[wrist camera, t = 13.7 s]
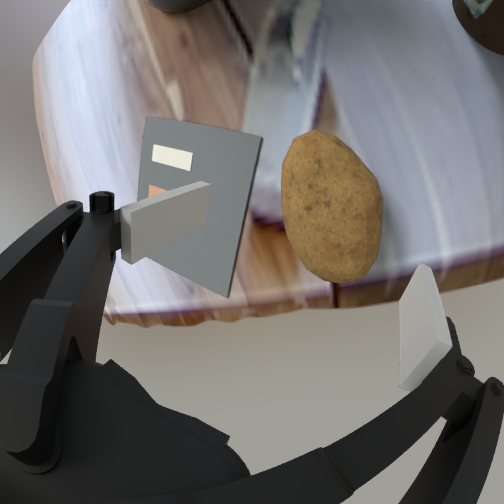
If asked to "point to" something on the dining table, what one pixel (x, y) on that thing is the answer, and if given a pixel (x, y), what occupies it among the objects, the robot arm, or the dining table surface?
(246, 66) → the dining table surface
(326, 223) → the potato
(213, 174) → the tile
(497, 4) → the olive oil
